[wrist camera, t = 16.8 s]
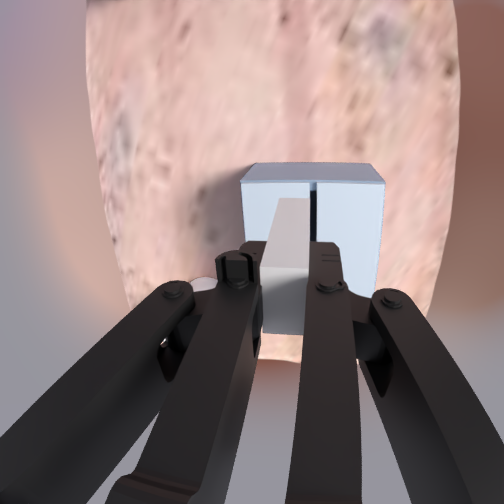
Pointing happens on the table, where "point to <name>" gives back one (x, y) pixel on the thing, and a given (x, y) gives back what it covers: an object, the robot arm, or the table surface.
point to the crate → (313, 179)
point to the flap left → (266, 204)
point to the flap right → (352, 228)
